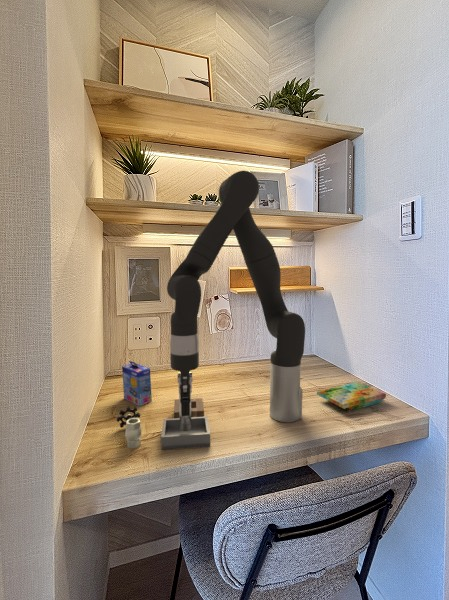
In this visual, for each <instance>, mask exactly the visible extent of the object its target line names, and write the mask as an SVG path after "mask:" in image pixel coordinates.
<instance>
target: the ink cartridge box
mask: <svg viewBox="0 0 449 600" xmlns="http://www.w3.org/2000/svg"><path fill="white" fill-rule="evenodd" d="M128 361H129V364H125V365H122V367H121V369H122V387H123V388H122V390H123V391H122V392H123V399H124V400H126V401H128V402H130V403H132V404H134V405H136V406H138V407H141V406H143V405H145V404H149V403H152V401H153V398H152V397H153V396H152V395H153V394H152V380H151V379H152V377H151V368H150V367H148V366H144V365H141V364H139V363H136V362H135V361H132V360H128Z"/></svg>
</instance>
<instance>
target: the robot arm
mask: <svg viewBox="0 0 449 600" xmlns="http://www.w3.org/2000/svg"><path fill="white" fill-rule="evenodd" d="M259 190H260V184H259V181H258V179H257V177H256V175H255V174H254V173H252V172H251V171H248V170H239V171H236V172H234V173H232V174H231V175H230V176H229V177H227V178H225V180H223V181H222V182H221V183H220V185H219V188H218V200H219V202H220V204H221V205H220V206H219V208H218V209H217V211H216V213H215V214H214V215H213V217H212V218H211V219H210V220H209V222H208V223H207V224H206V225H205V226H204V228H203V229H202V231H200V234H199V235H198V236H197V238H196V239H195V241H194V242H193V244H192V246H191V248H190V249H189V251H188V253H187V254H186V257H185V258H184V260H183V261H182V262H181V263H180V264H179V265H178V267H177V268H176V269H175V270H174V272H173V273H172V275H171V276H170V278H169V279H168V282H167V286H166V291H167V294H168V296H169V297H170V298H171V299H172V300H174V301H175V302H174V303H175V305H174V312H172V313H171V316H170V341H169V343H170V344H169V345H170V346H169V349H170V350H169V351H170V352H169V356H170V357H169V358H170V359H169V360H170V368H171V369H172V370H173V371H176V372H177V371H178V372H177V384H178V395H179V394H180V398H181V399H180V402H181V415H182V416H189V415H190V401H191V399H192V398H191V399H190V394H191V395H192V392H193V389H192V388H193V387H192V386H193V385H192V383H193V372H192V371H194V370H196V369H198V368H199V366H200V357H199V355H200V353H199V351H200V349H199V347H200V345H199V344H200V342H199V335H198V332H199V331H198V314H199V312H200V307H201V306H200V305H201V301H202V299H201V298H202V287H201V285H200V281H199V279H200V278H201V276H203V275H204V274H207V273H208V272H209V270H211V268H212V266H213V264H214V263H215V261H216V259H217V258H218V255H219V254H220V251H221V250H222V248H223V246H224V245H225V242H226V241H227V239H228V237H229V236H230V234H231V233H232V231H233V233H234V235H235V237H236V240H237V243H238V245H239V248H240V252H241V253H242V257H243V260H244V263H245V265H246V268H247V271H248V274H249V276H250V279H251V281H252V284H253V286H254V289H255V292H256V294H257V296H258V299H259V301H260V305H261V308H262V313H263V317H264V321H265V325H266V328H267V330H268V332H269V334H270V335H271V336H272V337H273V338H275V339H276V349H275V350H274V351H272V352H271V353H270V367H269V369H270V370H269V371H270V372H269V373H270V374H269V376H270V379H269V380H270V381H269V383H270V384H269V389H270V390H269V416H270V417H271V419H273V420H275V421H276V422H277V421H278V422H282V423H294V422H296V421H298V420H303V391H304V390H303V388H302V387H301V369H302V368H301V367H302V366H301V364H302V358H303V356H304V352H305V342H306V341H305V340H306V325H305V322H304V319H303V317H302V316H301V315H299V314H297V313H295V312H292V311H289V310H288V308H287V306H286V304H285V302H284V299H283V295H282V290H281V280H282V279H281V277H282V276H281V274H282V273H281V267H280V266H281V265H280V262H279V260H278V257H277V254H276V250H275V249H274V246H273V244H272V243H271V241H270V240H269V239H268V237H267V236H266V235H265V234H264V233H263V232H262V230H261V229H260V228H259V227H258V226H257V223H256V222H255V220H254V217H253V215H252V212H251V209H250V207H251V206H252V205H253V203H254V202H255V201H256V200H257V198H258V195H259V192H260V191H259ZM183 397H188V398H183Z"/></svg>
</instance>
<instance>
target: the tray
mask: <svg viewBox="0 0 449 600" xmlns="http://www.w3.org/2000/svg"><path fill="white" fill-rule="evenodd" d="M210 431H211V430H210V425H209V416H205V415H204V417H191V429H190V430H189V431H181V430H180V418H174V417H173V418H163V421H162V427H161V433H160V434H161V435H160V449H161V451H169V450H171V451H172V450H184V449H197V448H198V449H199V448H208V447H209V448H210V447H211V432H210Z"/></svg>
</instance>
